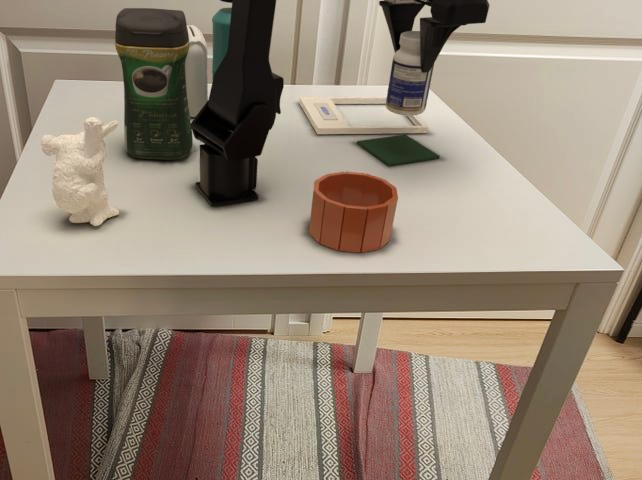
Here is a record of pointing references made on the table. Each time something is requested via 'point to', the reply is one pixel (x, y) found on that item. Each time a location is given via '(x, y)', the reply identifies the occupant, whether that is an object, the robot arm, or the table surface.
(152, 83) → the coffee jar
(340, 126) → the photo frame
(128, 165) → the table surface
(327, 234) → the pot
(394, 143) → the mat
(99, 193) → the white animal figurine
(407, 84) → the pill bottle
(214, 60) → the beverage bottle
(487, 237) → the table surface
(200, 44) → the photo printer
